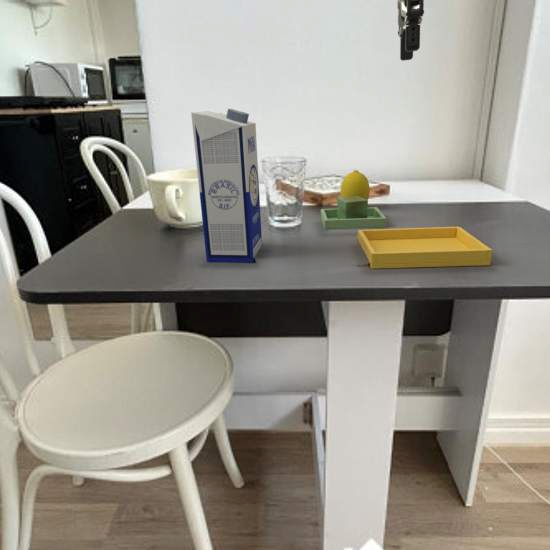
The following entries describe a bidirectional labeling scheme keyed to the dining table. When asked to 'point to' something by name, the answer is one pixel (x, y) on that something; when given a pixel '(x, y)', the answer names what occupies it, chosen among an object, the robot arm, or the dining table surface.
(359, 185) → the lemon
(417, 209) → the dining table surface
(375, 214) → the green tray
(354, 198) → the green block
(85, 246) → the dining table surface
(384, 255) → the yellow tray
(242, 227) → the milk carton
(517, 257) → the dining table surface
